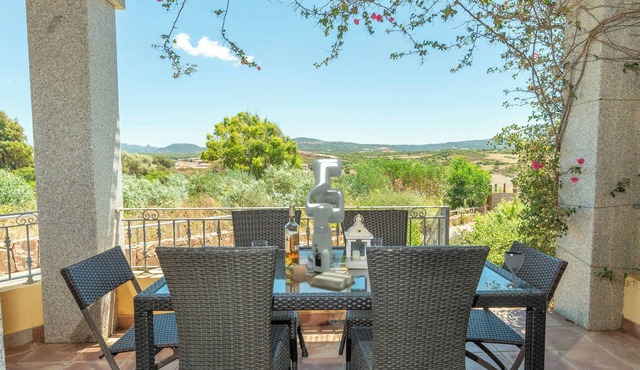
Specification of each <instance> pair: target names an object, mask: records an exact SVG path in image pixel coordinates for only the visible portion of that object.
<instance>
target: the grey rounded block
mask: <svg viewBox="0 0 640 370" xmlns="http://www.w3.org/2000/svg"><path fill="white" fill-rule="evenodd" d="M317 252H318V251H317ZM317 255H318V256H319V254H317ZM320 259H321V267H318V266H315V258H314V255H313V254H312V260H313V262H312V268H313V267H314V268H315V269H316V271H315V272H318V273H321V274H322V273H324V272H327V271H331V264H330V253H329V251H328V250H327V249H323V251H322V253H321V256H320Z"/></svg>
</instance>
